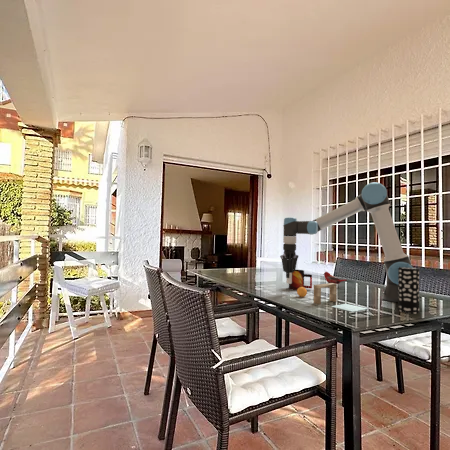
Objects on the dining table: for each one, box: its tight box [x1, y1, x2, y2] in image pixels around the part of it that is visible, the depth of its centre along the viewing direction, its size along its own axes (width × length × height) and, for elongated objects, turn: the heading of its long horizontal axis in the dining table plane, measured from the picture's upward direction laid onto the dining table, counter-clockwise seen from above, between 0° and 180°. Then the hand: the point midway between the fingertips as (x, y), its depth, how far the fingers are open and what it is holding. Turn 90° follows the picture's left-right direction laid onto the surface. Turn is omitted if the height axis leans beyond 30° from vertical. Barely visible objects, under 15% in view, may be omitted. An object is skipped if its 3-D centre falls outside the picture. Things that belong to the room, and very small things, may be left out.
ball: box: [296, 287, 308, 298], centre depth 171 cm, size 6×6×6 cm
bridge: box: [313, 282, 338, 305], centre depth 158 cm, size 3×14×9 cm, turn 123°
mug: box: [288, 269, 313, 291], centre depth 198 cm, size 10×14×12 cm
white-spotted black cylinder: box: [397, 267, 420, 315], centre depth 141 cm, size 8×8×20 cm
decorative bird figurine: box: [323, 271, 347, 285], centre depth 207 cm, size 3×18×10 cm, turn 42°
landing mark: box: [330, 303, 368, 313], centre depth 146 cm, size 12×12×1 cm
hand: (289, 283), depth 180 cm, fingers closed
